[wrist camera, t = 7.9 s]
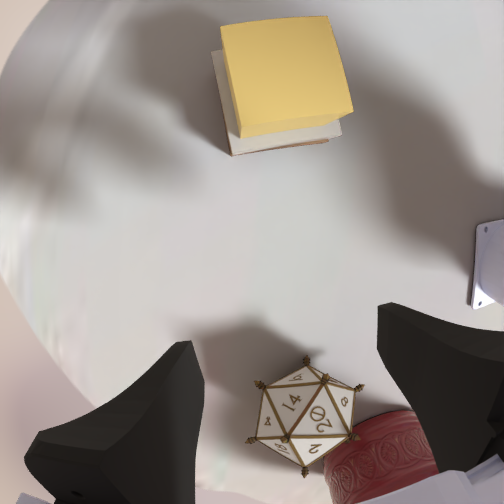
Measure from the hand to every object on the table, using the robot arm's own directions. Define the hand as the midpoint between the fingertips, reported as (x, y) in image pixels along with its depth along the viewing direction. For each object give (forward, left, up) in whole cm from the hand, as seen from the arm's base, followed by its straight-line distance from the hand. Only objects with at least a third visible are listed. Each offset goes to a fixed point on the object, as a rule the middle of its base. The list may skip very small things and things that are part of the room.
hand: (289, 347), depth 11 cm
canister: (-9, +24, -11) cm, 28 cm away
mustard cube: (-2, -10, -7) cm, 12 cm away
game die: (-1, +11, -11) cm, 15 cm away
